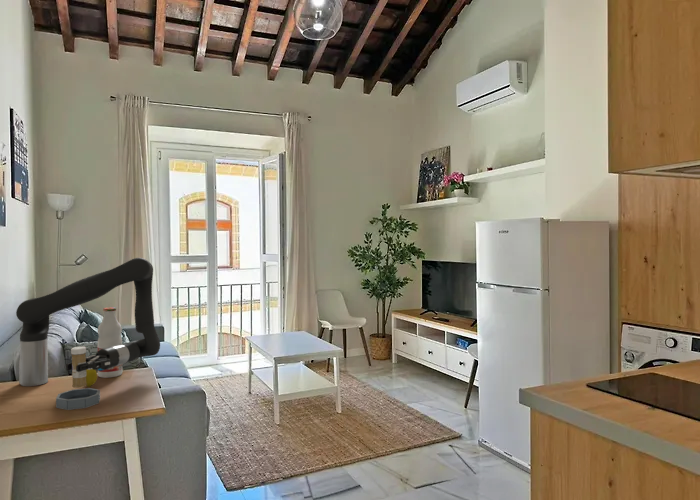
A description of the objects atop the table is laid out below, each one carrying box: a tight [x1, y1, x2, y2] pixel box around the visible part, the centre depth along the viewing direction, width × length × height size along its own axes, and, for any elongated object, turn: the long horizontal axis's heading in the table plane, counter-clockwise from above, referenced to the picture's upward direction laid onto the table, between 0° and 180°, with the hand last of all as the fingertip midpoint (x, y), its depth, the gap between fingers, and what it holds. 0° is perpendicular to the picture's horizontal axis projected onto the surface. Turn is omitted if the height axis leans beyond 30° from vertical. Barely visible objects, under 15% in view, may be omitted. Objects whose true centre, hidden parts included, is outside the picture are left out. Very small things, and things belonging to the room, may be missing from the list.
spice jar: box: [70, 346, 87, 389], centre depth 179 cm, size 5×5×14 cm
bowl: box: [55, 387, 101, 411], centre depth 179 cm, size 13×13×3 cm
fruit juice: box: [96, 306, 124, 379], centre depth 215 cm, size 9×9×28 cm
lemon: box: [85, 369, 98, 388], centre depth 198 cm, size 6×6×8 cm
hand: (72, 368), depth 177 cm, fingers closed on spice jar, 4 cm apart
